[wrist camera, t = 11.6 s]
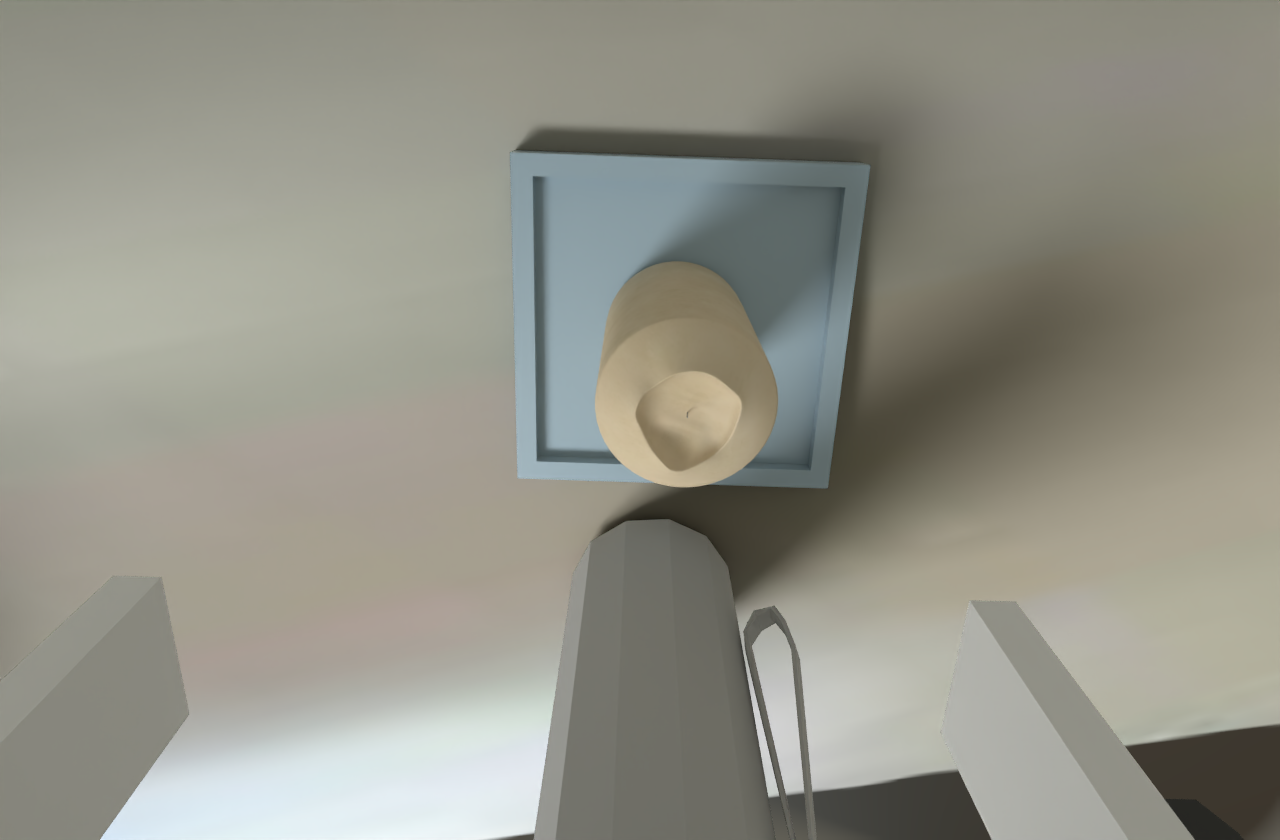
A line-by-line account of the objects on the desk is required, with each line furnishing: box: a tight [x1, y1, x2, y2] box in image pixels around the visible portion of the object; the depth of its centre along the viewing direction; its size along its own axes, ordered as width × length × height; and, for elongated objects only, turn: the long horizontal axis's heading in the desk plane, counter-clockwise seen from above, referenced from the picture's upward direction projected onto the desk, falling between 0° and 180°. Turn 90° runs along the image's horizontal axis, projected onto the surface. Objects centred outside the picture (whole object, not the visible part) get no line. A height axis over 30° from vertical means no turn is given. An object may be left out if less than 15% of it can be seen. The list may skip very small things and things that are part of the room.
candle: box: [595, 261, 778, 487], centre depth 28 cm, size 6×6×10 cm
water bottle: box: [534, 519, 817, 840], centre depth 26 cm, size 9×8×25 cm
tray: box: [510, 150, 871, 488], centre depth 33 cm, size 13×13×1 cm
